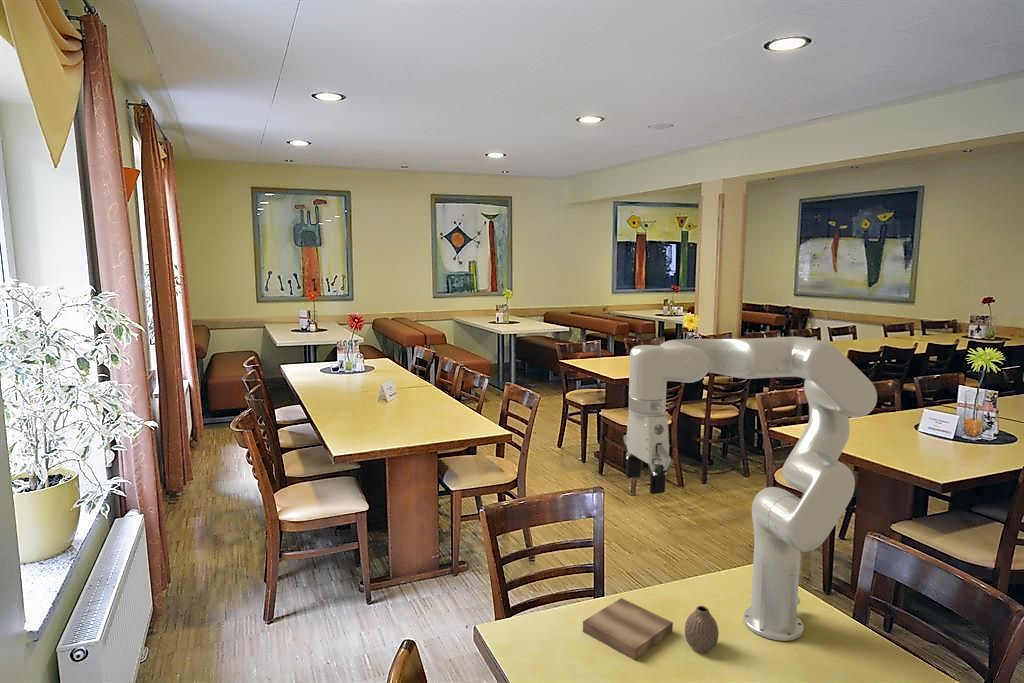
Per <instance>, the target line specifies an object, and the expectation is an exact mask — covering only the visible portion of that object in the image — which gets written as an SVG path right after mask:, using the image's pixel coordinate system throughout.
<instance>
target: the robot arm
mask: <svg viewBox="0 0 1024 683" xmlns="http://www.w3.org/2000/svg"><path fill="white" fill-rule="evenodd" d="M708 373H709V374H717V375H723V376H726V377H732V378H737V379H745V380H746V379H749V380H753V379H766V378H767V379H768V378H769V379H770V378H785V377H786V378H787V377H790V378H791V377H793V378H795V377H796V378H801V379H805V380H804V383H803V384H804V385H803V388H804V389H803V390H804V394H805V397H806V400H807V403H808V407H809V419H808V422H807V425H806V427H805V429H804V431H803V433H802V434H801V436H800V437H799V438H798V441H797V442H796V444H795V446H794V447H793V449H792V450H791V452H790V453H789V455H788V456H787V458H786V460H785V462H784V464H783V466H782V472H781V473H782V476H783V479H784V480H785V482H786V483H787V484H789V485H790V486H791V487H793V488H794V489H795V490H797V491H799V492H801V493H802V496H801V498H800V497H798V496H797V495H794V493H792V492H790V491H788V490H786V489H784V488H781V487H777V486H769V487H765V488H763V489H761V490H760V491H758V493H756V495H755V496H754V499H753V500H752V505H751V519H752V525H753V535H754V539H753V540H754V541H753V542H754V543H753V544H754V546H753V562H752V565H753V566H752V583H751V603H750V604H751V605H750V607H748V608H747V609H745V611H744V612H743V617H742V619H743V622H744V625H745V626H746V627H747V628H748V629H749V630H750V631H752V632H753V633H755V634H757V636H760V637H763V638H766V639H770V640H775V641H783V642H785V641H786V642H787V641H793V640H796V639H799V638H800V637H801V636H803V634H804V626H805V625H804V624H803V623H804V622H803V621H802V620H801V618H800V617H798V616H797V615H798V606H799V604H801V598H800V597H799V580H800V567H801V552H806V553H807V552H811V551H814V550H815V549H818V548H819V547H820V546H821V545H822V544H823V543H824V542H825V541H826V540H827V538H829V535H831V532H832V530H833V529H834V528H835V526H836V524H837V523H838V521H839V520H840V518H841V517H842V515H843V513H844V511H845V510H846V508H847V507H848V505H849V503H850V502H851V500H852V498H853V495H854V493H855V486H856V485H855V484H856V483H855V482H856V481H855V477H854V473H853V472H852V470H851V468H849V466H847V465H846V464H844V463H843V462H841V461H840V460H838V459H839V458H840V456H841V454H842V453H843V451H844V448H845V447H846V445H847V443H848V441H849V438H850V432H851V430H850V427H851V426H850V419H849V418H862V417H863V418H864V417H865V416H867V415H868V414H870V413H871V412H872V411H874V409H875V407H876V405H877V402H878V393H877V390H876V388H875V385H874V384H873V382H872V381H871V380H870V379H869V378H868V377H867V376H866V375H865V374H864V373H863V372H862V370H860V369H859V368H858V367H857V366H856V365H855V364H854V363H853V362H852V361H851V360H850V359H849V358H848V357H847V356H846V355H845V354H844V353H843V352H842V351H840V350H839V349H838V348H837V347H836V346H834V345H833V344H831V343H829V342H827V341H824V340H819V339H815V338H814V339H813V338H809V337H803V336H778V337H776V336H773V337H757V338H756V337H755V338H753V337H752V338H689V339H688V338H687V339H686V338H683V339H682V338H681V339H671V340H667V341H664V342H663V343H661V344H660V345H653V344H641V345H635V346H633V347H632V348H631V349H630V352H629V374H628V375H629V376H628V378H629V379H628V380H629V382H628V384H629V385H628V415H627V416H628V418H627V427H626V434H625V435H623V442H624V450H625V453H626V454H625V458H626V472H625V473H626V474H625V476H626V478H627V479H633V478H634V479H635V478H640V477H641V472H642V471H641V466H642V461H643V462H644V463H646V464H648V465H649V468H650V472H651V473H650V474H649V494H651V495H657V494H663V493H665V491H666V475H667V474H668V471H669V470H670V466H671V463H672V457H671V456H670V441H669V440H670V437H669V435H670V434H669V423H668V418H667V415H666V411H667V410H666V409H667V405H666V403H667V382H679V383H686V384H687V383H688V384H689V383H695V382H699V381H701V380H702V379H703V378H705V377H706V375H707V374H708ZM656 465H657V467H656Z"/></svg>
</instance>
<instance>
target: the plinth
mask: <svg viewBox="0 0 1024 683" xmlns="http://www.w3.org/2000/svg"><path fill="white" fill-rule="evenodd" d="M673 624H674V622H673V621H671V620H668V619H667V618H665V617H662V616H660V615H658V614H656V613H654V612H653V611H650V610H648V609H646V608H643V607H642V606H639V605H637V604H635V603H634V602H631V601H629V600H627V599H625V598H623V597H621V598H619V599H617V600H616V601H614V602H613V603H611V604H609V605H607V606H606V607H604V608H602V609H601V610H599V611H597V612H596V613H593V614H592V615H591V616H589V617H587V618H585V620H583V621H582V632H583V633H584V634H586V635H588V636H590V637H592V638H594V639H595V640H596V641H599V642H601V643H602V644H604V645H607V646H608V647H610V648H612V649H614V650H615V651H618V653H621V654H622V655H625V656H626V657H628V658H629V659H631V660H633V661H636V660H638V659H639V658H640V657H641V656H643V655H644V654H646V653H647V652H648V651H650V650H651V649H653V648H654V647H655V646H656V645H658V644H660V643H661V642H662V641H663V640H665V639H666V638H667V637H669V636H671V634H673V631H674V630H673V627H674V626H673Z"/></svg>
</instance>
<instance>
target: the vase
mask: <svg viewBox="0 0 1024 683" xmlns="http://www.w3.org/2000/svg"><path fill="white" fill-rule="evenodd" d="M684 635H685V636H684V637H685V640H686V642H687V643H688V645H689V647H690V648H692V649H693V651H696V652H699V653H703V654H704V653H708V652H711V651H712V650H713V649H714V648H715V647H716V645H717V643H718V642H719V626H718V623H717V621H716V619H715V618H714V616H713V615H712V613H711V612H710V610H709V608H708V607H706V606H704V605H698V606H697V607H695V610H694V611H693V612H692V613H690V614H689V616H687V619H686V620H685V624H684Z"/></svg>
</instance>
